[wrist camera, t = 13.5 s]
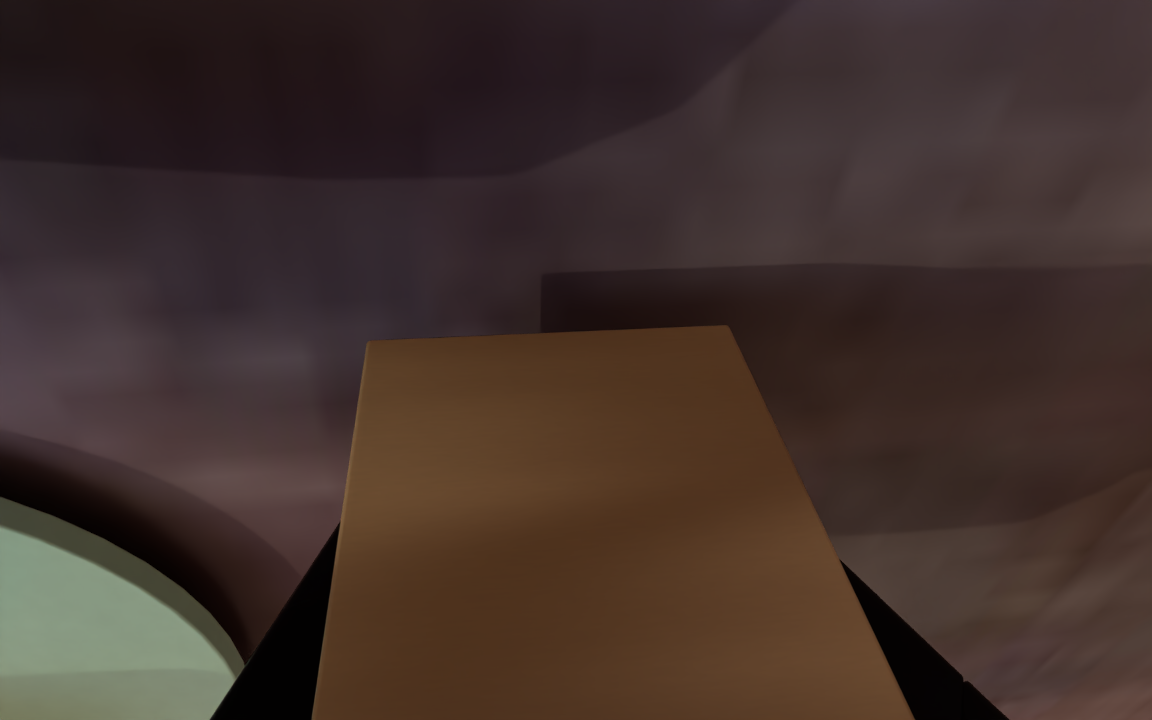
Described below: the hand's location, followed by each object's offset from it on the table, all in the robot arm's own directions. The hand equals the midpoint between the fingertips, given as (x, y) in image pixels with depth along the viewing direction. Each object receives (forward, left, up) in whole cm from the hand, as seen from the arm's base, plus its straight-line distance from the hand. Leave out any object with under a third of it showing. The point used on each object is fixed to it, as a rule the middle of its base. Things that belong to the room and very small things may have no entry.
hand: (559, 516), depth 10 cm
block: (0, 0, -1) cm, 1 cm away
